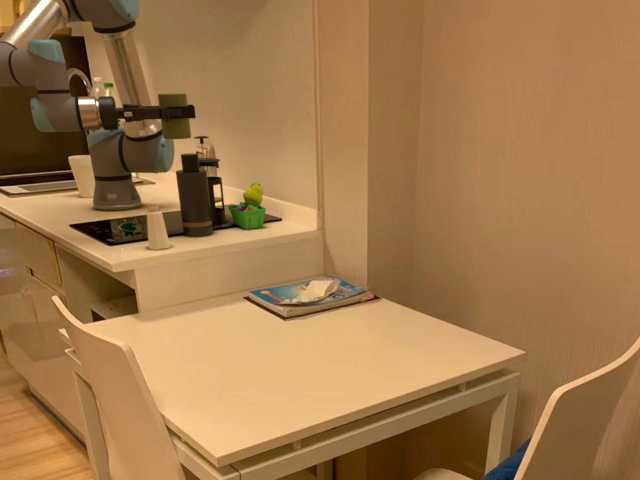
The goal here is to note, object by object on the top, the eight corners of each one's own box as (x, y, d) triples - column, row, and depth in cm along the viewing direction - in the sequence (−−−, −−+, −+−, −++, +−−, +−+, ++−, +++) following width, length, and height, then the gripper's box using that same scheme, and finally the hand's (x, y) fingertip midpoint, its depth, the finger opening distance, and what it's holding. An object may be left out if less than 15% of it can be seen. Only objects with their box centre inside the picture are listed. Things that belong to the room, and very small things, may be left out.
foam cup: (106, 196, 247) (99, 156, 240) (80, 199, 242) (72, 158, 236) (98, 193, 254) (91, 154, 247) (73, 195, 249) (65, 156, 243)
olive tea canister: (161, 137, 179) (155, 93, 174) (187, 136, 181) (182, 93, 176) (166, 139, 174) (160, 94, 169) (193, 138, 176) (188, 93, 171)
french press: (231, 223, 201) (222, 136, 190) (199, 226, 198) (188, 138, 186) (220, 217, 211) (211, 133, 199) (189, 219, 207) (179, 135, 196)
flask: (180, 232, 192) (170, 153, 182) (209, 229, 195) (201, 152, 185) (187, 237, 185) (177, 156, 175) (216, 235, 188) (208, 155, 178)
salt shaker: (156, 250, 173) (149, 204, 167) (144, 247, 176) (137, 202, 170) (174, 246, 176) (168, 201, 171) (162, 243, 179) (155, 199, 174)
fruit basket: (228, 224, 201) (224, 182, 196) (256, 220, 205) (253, 180, 199) (243, 230, 193) (239, 187, 187) (272, 227, 196) (269, 184, 191)
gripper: (105, 127, 181) (194, 125, 186) (100, 133, 164) (198, 130, 169) (99, 95, 177) (190, 93, 182) (94, 98, 161) (194, 95, 165)
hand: (194, 111), depth 175 cm, fingers closed on olive tea canister, 7 cm apart
